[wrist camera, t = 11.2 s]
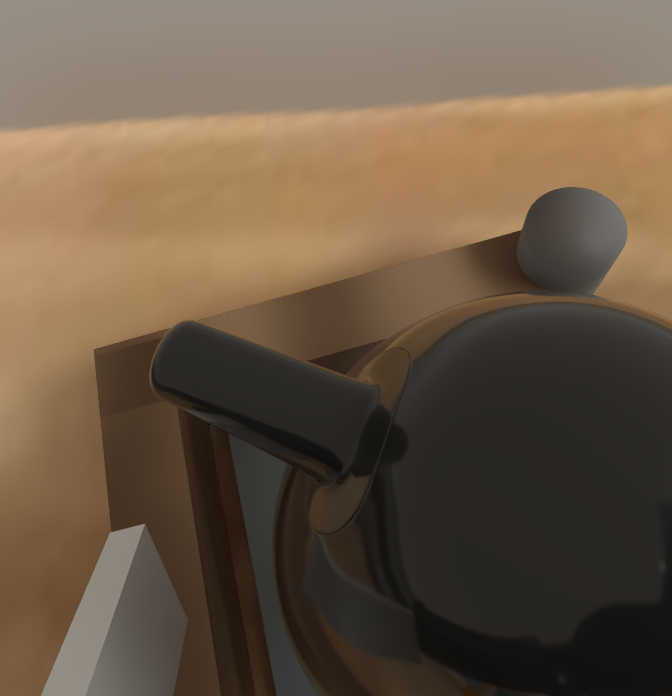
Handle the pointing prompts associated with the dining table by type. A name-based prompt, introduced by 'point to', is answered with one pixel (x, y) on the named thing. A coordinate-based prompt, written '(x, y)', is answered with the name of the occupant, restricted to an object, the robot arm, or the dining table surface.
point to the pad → (266, 557)
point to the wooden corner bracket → (321, 349)
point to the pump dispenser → (463, 495)
